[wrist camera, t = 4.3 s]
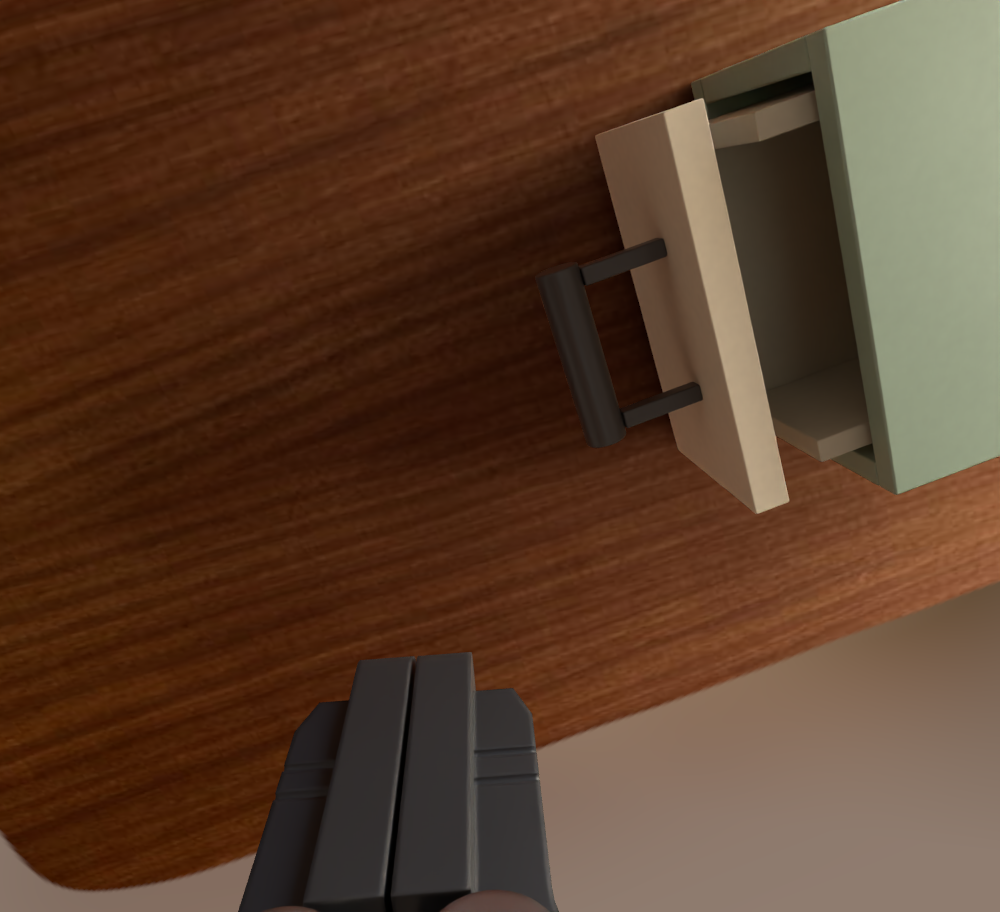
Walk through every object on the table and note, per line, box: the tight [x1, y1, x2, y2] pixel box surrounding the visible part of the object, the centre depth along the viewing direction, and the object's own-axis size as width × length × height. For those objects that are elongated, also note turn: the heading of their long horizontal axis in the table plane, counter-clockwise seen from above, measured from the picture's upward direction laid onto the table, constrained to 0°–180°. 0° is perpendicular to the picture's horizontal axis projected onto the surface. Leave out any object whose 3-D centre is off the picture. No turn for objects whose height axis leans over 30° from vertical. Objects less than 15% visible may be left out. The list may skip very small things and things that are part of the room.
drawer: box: [535, 82, 873, 514], centre depth 26 cm, size 21×13×7 cm, turn 109°
